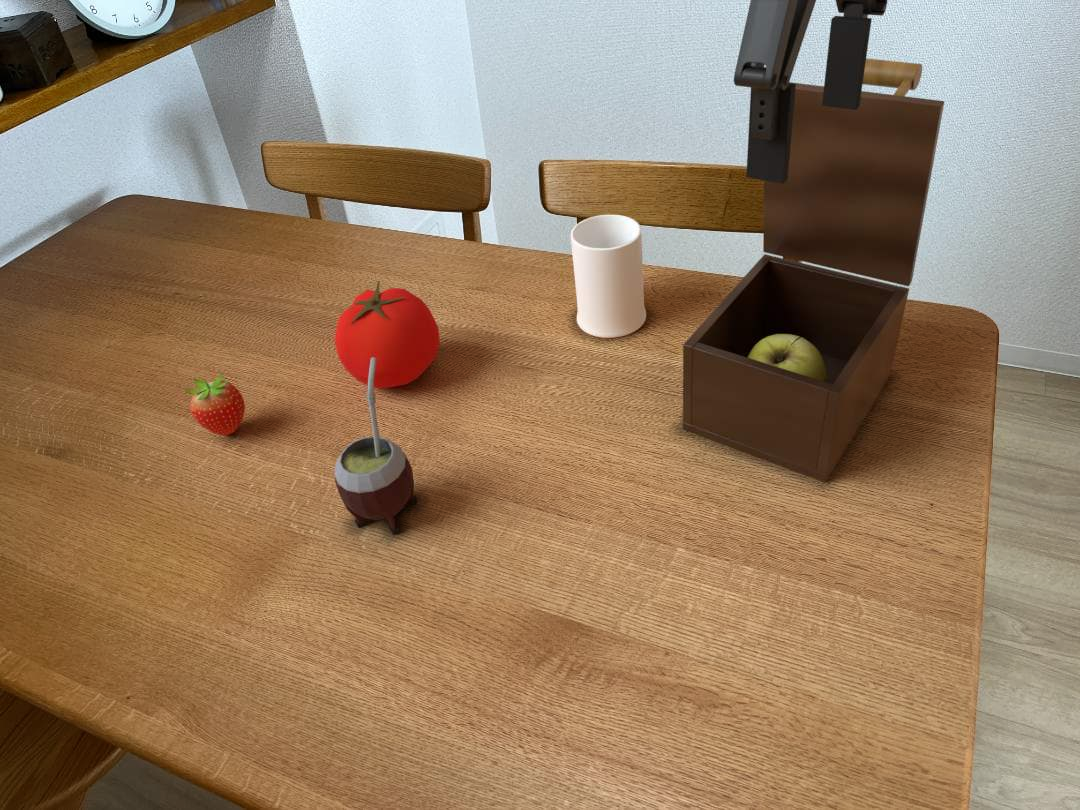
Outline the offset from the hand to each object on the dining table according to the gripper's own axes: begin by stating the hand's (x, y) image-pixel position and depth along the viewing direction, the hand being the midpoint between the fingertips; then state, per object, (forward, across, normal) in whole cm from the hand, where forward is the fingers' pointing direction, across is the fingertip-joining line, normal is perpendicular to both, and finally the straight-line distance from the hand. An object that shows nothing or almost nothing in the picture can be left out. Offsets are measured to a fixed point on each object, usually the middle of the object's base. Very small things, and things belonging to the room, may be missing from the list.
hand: (805, 140), depth 60 cm
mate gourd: (+31, +27, -28) cm, 50 cm away
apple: (+30, -4, -1) cm, 31 cm away
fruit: (+31, +28, -52) cm, 67 cm away
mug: (+31, -12, -26) cm, 43 cm away
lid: (+10, -14, -1) cm, 17 cm away
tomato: (+31, +11, -42) cm, 54 cm away
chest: (+31, -6, -2) cm, 32 cm away
